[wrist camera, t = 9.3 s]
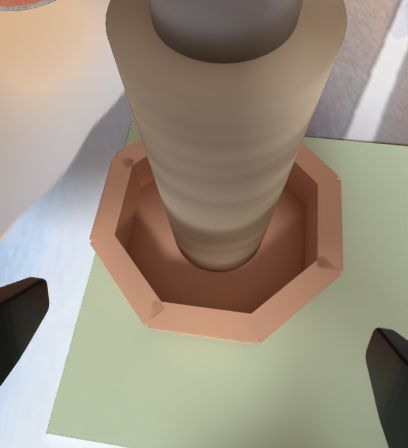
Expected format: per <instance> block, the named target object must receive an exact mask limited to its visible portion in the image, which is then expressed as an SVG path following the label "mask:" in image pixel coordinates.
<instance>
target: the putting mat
mask: <svg viewBox="0 0 408 448" xmlns="http://www.w3.org/2000/svg"><path fill="white" fill-rule="evenodd" d="M139 139H141V136H140V133H139V130H138V127H137V124H136V121H132V122H131V126H130V130H129V133H128V137H127V141H126V144H125V148H126V147H128V146H129V145H131V144H132V143H134V142H136V141H137V140H139ZM302 142H303V143H304V144H305V145H306V146H307V147H308V148H309V149H310V150H311V151H312V152H313V153H314V154H316V155H317V156H318V157H319V158H320V159H321V160H322V161H323V162H324V163H325V164H326V165H327V166H328V167H330V168H331V169H332V170H333V171H334V172H335V173H336V174H337V175H338V176H339V178H338V180H341V193H342V231H343V268H344V271H342V272H341V274H342V275H341V276H339V277H338V278H337V279H336V280H335V281H334V282H332V283H331V284H330V285H329V286H328V287H327V288H325V289H324V290H323V291H322V292H321V293H319V294H318V295H317V296H316V297H315V298H314V299H312V300H311V301H310V302H309V303H308V304H306V305H305V306H304V307H303V308H302V309H301V310H299V311H298V312H297V313H296V314H295V315H294V316H292V317H291V318H290V319H289V320H288V321H286V322H285V323H284V324H283V325H282V326H281V327H279V328H278V329H277V330H276V331H275V332H273V333H272V334H271V335H270V336H269V337H268V338H266V339H265V340H264V341H263V342H261V343H258V344H254V345H246V344H239V343H232V342H225V341H218V340H210V339H201V338H197V337H190V336H183V335H176V334H169V333H162V332H156V331H154V330H152V329H150V328H148V327H147V326H145V325H143V323H142V322H141V320H140V319H139V317H138V316H137V314H136V313H135V311H134V310H133V308H132V307H131V305H130V304H129V302H128V300H127V299H126V297H125V296H124V294H123V293H122V291H121V290H120V288H119V287H118V285H117V284H116V282H115V281H114V279H113V278H112V276H111V275H110V273H109V272H108V270H107V268H106V267H105V265H104V264H103V262H102V261H101V259H100V258H99V256H98V255H97V253H95V257H94V261H93V264H92V268H91V272H90V275H89V279H88V282H87V286H86V290H85V293H84V297H83V301H82V304H81V308H80V312H79V315H78V319H77V322H76V326H75V330H74V333H73V337H72V341H71V344H70V348H69V352H68V355H67V359H66V363H65V366H64V370H63V373H62V377H61V381H60V384H59V388H58V392H57V395H56V399H55V403H54V406H53V410H52V413H51V417H50V421H49V424H48V428H47V432H46V433H47V434H53V435H59V436H65V437H71V438H76V439H82V440H88V441H94V442H99V443H105V444H111V445H117V446H122V447H128V448H389V447H388V444H387V441H386V438H385V435H384V432H383V429H382V426H381V423H380V420H379V416H378V412H377V408H376V404H375V399H374V395H373V391H372V386H371V382H370V377H369V373H368V369H367V364H366V358H365V354H366V350H367V347H368V344H369V341H370V338H371V336H372V333H373V331H374V329H375V328H377V327H380V328H387V329H392V330H394V331H396V332H397V333H399V334H400V335H401V336H403V337H404V338H405V339H407V340H408V146H398V145H387V144H376V143H366V142H355V141H344V140H333V139H323V138H312V137H304V139H303V141H302Z"/></svg>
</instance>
